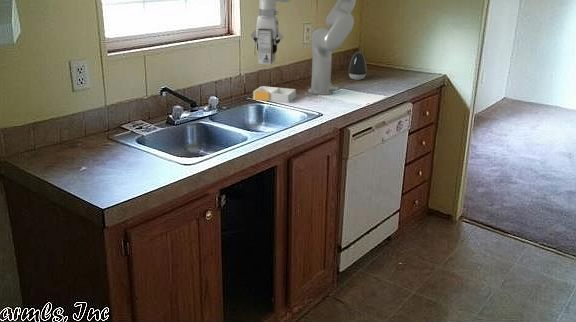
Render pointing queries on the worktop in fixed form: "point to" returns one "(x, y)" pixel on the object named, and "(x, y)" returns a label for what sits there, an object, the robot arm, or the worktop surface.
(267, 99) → the rack
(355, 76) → the black rounded egg shape
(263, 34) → the coffee box
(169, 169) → the worktop surface
